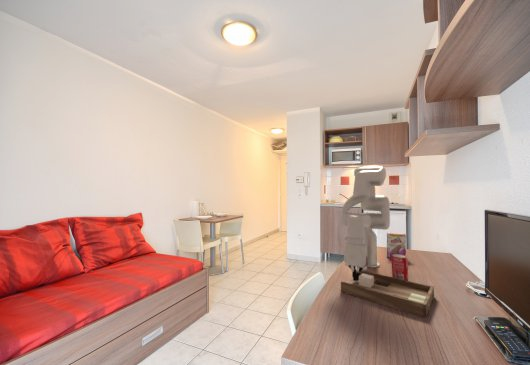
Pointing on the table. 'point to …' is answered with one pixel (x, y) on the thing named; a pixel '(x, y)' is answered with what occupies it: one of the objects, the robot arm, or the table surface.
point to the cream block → (366, 280)
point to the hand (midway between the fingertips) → (356, 279)
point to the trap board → (393, 293)
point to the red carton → (399, 266)
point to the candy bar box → (396, 244)
